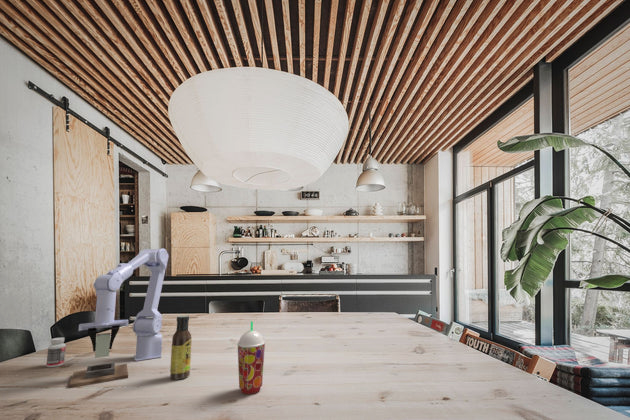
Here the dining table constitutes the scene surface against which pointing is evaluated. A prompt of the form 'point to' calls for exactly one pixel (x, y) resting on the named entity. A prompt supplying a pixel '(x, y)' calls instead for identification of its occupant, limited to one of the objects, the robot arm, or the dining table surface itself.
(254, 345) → the smoothie
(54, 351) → the pill bottle
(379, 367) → the dining table surface
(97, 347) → the peg
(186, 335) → the sauce bottle
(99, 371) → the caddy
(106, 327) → the robot arm
